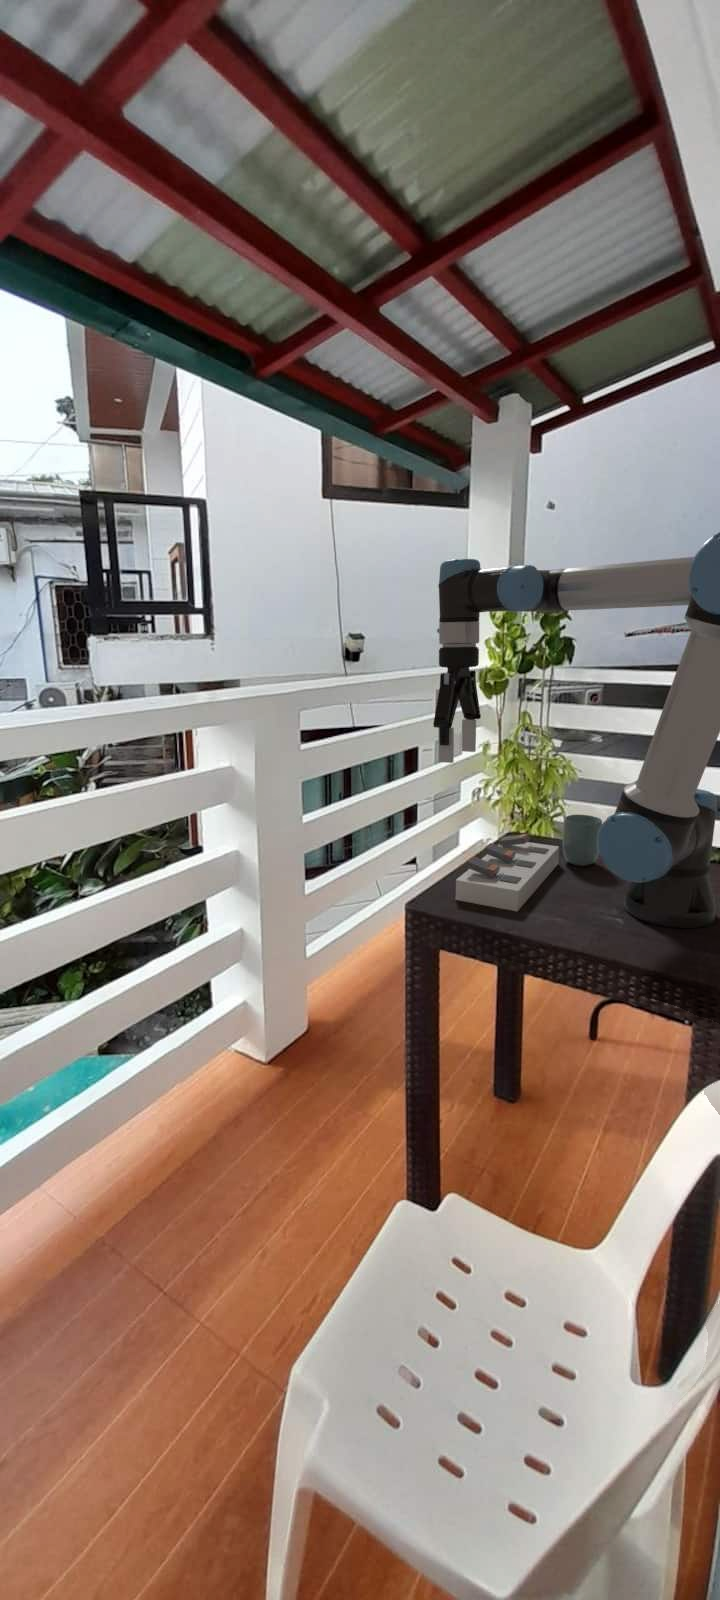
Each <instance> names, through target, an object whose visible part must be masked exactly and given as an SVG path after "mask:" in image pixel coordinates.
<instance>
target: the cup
mask: <svg viewBox="0 0 720 1600" xmlns="http://www.w3.org/2000/svg"><path fill="white" fill-rule="evenodd" d="M602 824H603V820H602V819H601V817H597V816H593V815H590V814H589V815H588V814H569V815H566V816H565V817H564V819H563V826H562V827H563V828H562V852H563V856H564V859H565V861H567V863H569V864H571V865H575V866H579V867H585V866H590V865H592V864H594V863H595V862H596V860H598V857H599V852H598V849H597V834H598V831H599V829H600V827H601V825H602Z"/></svg>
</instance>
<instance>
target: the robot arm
mask: <svg viewBox="0 0 720 1600" xmlns="http://www.w3.org/2000/svg"><path fill="white" fill-rule="evenodd" d="M438 600H439V601H438V602H439V603H438V604H439V619H438V622H439V623H438V624H439V627H438V628H437V630H436V632H437V633H438V637H439V638H438V639H439V644H440V645H442V646H441V647H440V648H439V649H438V665H439V667H441V668H447V672H445V673H444V672H441V673H440V677H439V689H438V695H437V700H436V706H435V712H434V718H433V719H434V720H433V728H436V729H437V728H438V763H449V764H451V763H452V764H453V763H454V757H455V756H454V745H455V744H454V742H455V741H454V739H455V736H454V735H455V733H454V731H455V730H454V728H455V727H452V726H453V722H454V718H455V714H456V711H457V707H458V703H459V704H460V708H461V711H462V715H463V719H461V752H469V753H476V747H477V744H476V743H477V742H476V741H477V720H481V716H482V715H481V709H480V702H479V696H478V694H479V693H478V690H477V689H478V688H477V682H476V677H477V676H476V669H470V668H476V667H478V666H479V664H480V663H479V662H480V659H479V658H480V648H479V647H478V646H477V644H479V643H480V613H485V612H487V613H488V612H492V613H493V612H528V613H530V612H534V613H542V614H543V613H544V614H545V613H546V614H548V613H551V614H552V613H557V612H565V611H567V612H568V611H588V610H589V611H590V610H607V609H608V610H609V609H611V610H612V609H631V608H632V609H633V608H655V607H676V606H677V607H678V606H679V607H680V606H687V608H686V609H687V610H686V612H685V615H684V620H685V621H686V623H687V625H688V627H689V629H690V633H689V635H688V639H687V642H686V645H685V647H684V650H683V652H682V655H681V658H680V661H679V664H678V667H677V670H676V672H675V675H674V677H673V680H672V682H671V685H670V686H671V687H670V688H669V691H668V694H667V697H666V699H665V701H664V705H663V707H662V711H661V713H660V717H659V720H658V722H657V724H656V727H655V730H654V733H653V736H652V738H651V740H650V741H651V742H650V744H649V746H648V750H647V752H646V754H645V758H644V761H643V762H642V766H641V768H640V772H639V773H638V778H637V779H636V780H635V781H633V782H630V783H628V784H625V786H624V788H623V789H622V792H621V795H620V797H619V801H618V803H617V806H616V808H615V812H614V814H611V815H609V816H607V817H606V819H605V820H604V822H602V825H601V827H600V829H599V831H598V834H597V849H598V852H599V854H598V856H600V857H601V860H602V861H603V864H604V865H605V866H606V868H608V870H609V871H611V873H613V874H614V875H615V876H616V877H619V878H620V879H623V880H625V881H628V882H629V884H628V887H627V888H626V891H625V893H624V900H623V907H624V909H625V911H626V912H627V913H629V914H630V915H631V916H632V917H635V918H637V919H639V920H642V921H644V922H647V923H650V924H654V925H658V926H663V927H671V928H685V929H688V928H692V929H693V928H701V927H704V926H708V925H711V924H713V922H714V921H715V917H716V916H715V915H716V911H717V906H716V901H715V897H714V894H713V889H712V885H711V881H710V877H709V875H710V874H709V873H710V864H711V858H712V851H713V843H714V842H713V841H714V833H715V825H716V824H715V823H716V816H717V814H718V809H717V805H718V804H717V803H718V801H717V800H718V798H717V796H716V794H714V793H713V792H711V791H708V790H705V789H700V788H699V785H700V783H701V781H702V777H703V775H704V773H705V771H706V767H707V765H708V762H709V760H710V757H711V755H712V753H713V750H714V748H715V745H716V742H717V740H718V738H719V735H720V531H719V532H717V533H715V534H713V535H712V536H711V537H709V538H708V540H706V542H704V543H703V544H702V545H701V547H699V549H698V551H696V554H695V556H689V557H688V556H686V557H678V558H677V557H675V558H666V559H655V560H646V561H645V560H644V561H634V562H625V563H612V564H602V565H593V566H581V567H570V568H568V567H567V568H558V569H557V568H556V569H547V570H546V569H544V570H541V569H538V568H537V567H536V566H534V565H533V564H532V565H531V564H520V565H519V564H513V565H509V566H502V567H501V566H500V567H493V568H481V562H480V561H479V560H478V559H475V558H474V559H473V558H460V559H457V558H456V559H454V558H453V559H448V560H445V561H443V562H441V564H440V567H439V579H438Z"/></svg>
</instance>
